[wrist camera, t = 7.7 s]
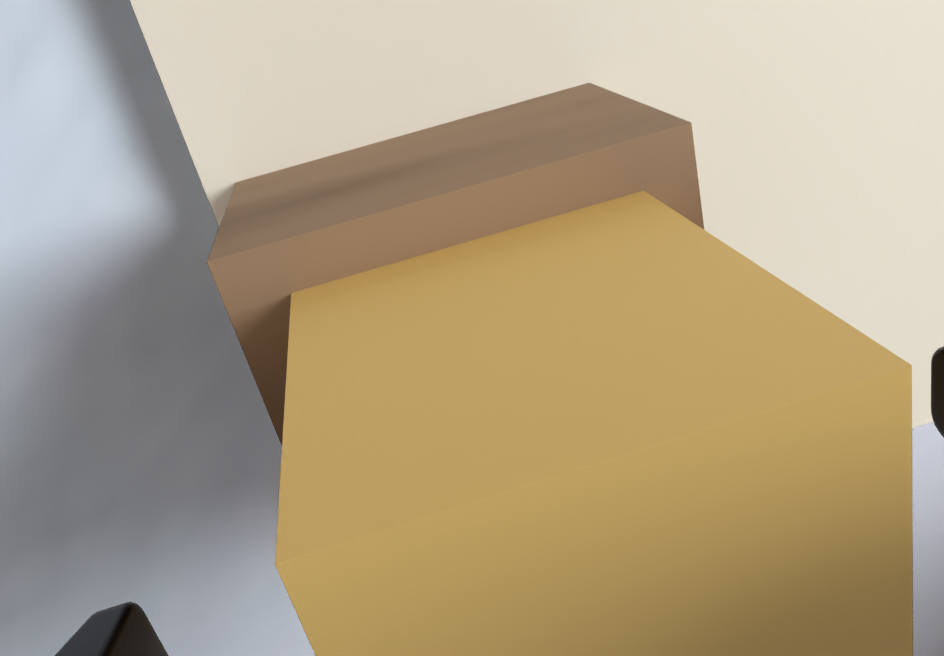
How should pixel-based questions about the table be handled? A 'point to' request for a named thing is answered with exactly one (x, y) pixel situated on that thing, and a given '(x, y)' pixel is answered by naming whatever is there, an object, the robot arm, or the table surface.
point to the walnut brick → (434, 202)
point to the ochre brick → (592, 454)
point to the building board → (631, 75)
